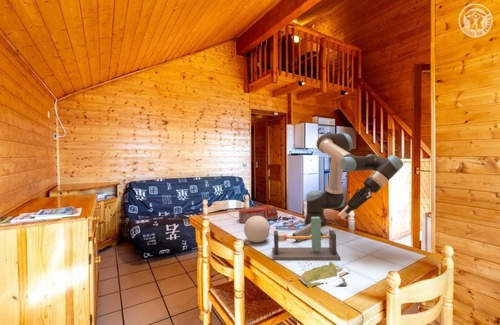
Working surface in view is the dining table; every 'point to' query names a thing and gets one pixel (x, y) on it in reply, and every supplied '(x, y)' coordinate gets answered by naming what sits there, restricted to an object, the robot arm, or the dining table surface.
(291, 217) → the dining table surface
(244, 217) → the toy
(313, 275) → the landscape model
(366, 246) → the dining table surface
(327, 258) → the grey slider rail stand
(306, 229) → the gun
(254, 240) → the toy
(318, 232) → the sleeve
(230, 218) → the dining table surface
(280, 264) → the dining table surface
